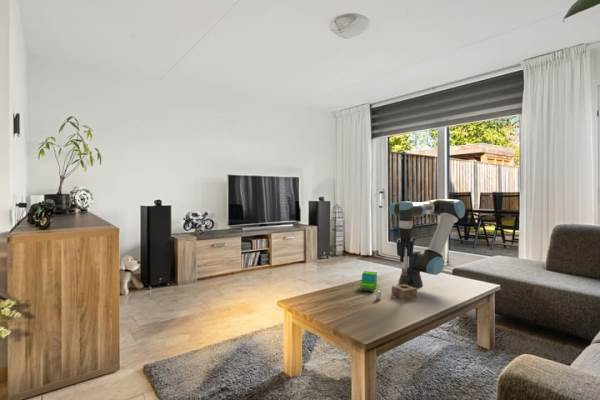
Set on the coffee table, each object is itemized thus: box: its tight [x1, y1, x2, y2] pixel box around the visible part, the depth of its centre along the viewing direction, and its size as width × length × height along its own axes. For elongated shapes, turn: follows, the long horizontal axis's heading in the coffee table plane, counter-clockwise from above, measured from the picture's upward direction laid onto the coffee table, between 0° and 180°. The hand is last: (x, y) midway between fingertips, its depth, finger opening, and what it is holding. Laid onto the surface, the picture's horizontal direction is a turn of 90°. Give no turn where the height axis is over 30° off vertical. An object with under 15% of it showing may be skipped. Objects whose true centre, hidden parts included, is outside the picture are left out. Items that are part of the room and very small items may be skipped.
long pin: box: [401, 248, 407, 276], centre depth 199 cm, size 2×2×16 cm
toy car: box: [359, 270, 378, 293], centre depth 214 cm, size 10×13×10 cm
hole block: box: [391, 284, 418, 302], centre depth 200 cm, size 10×10×6 cm
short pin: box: [375, 290, 382, 302], centre depth 195 cm, size 2×2×5 cm
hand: (404, 267), depth 199 cm, fingers closed on long pin, 2 cm apart
